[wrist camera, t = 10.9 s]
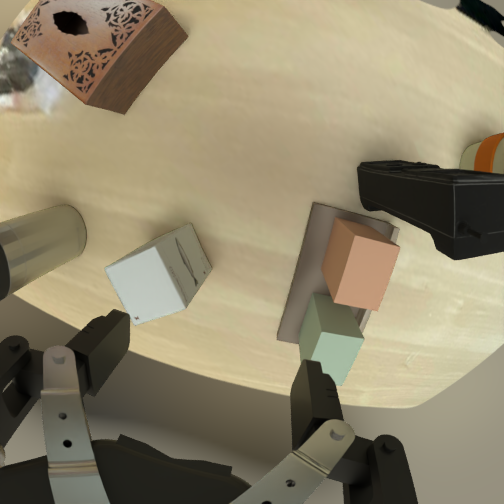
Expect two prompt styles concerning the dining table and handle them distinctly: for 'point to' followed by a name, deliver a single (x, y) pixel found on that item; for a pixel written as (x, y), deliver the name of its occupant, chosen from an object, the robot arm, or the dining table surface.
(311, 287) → the shallow tray
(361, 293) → the terracotta tin
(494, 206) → the portable radio
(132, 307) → the supplement box
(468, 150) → the reusable coffee cup
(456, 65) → the dining table surface
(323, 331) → the tea tin
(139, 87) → the tissue box cover
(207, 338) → the dining table surface
